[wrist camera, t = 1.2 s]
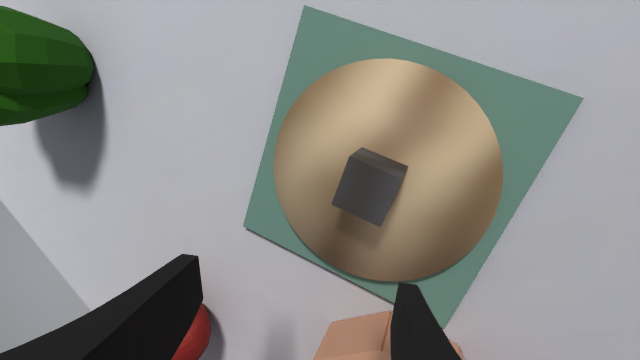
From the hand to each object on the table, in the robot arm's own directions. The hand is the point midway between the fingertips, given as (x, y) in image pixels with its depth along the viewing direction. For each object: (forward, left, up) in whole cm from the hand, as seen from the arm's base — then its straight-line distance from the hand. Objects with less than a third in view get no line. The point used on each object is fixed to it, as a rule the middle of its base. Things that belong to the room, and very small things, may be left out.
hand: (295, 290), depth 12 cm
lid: (0, -2, -11) cm, 12 cm away
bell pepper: (+27, 0, -12) cm, 29 cm away
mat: (0, -2, -12) cm, 12 cm away
